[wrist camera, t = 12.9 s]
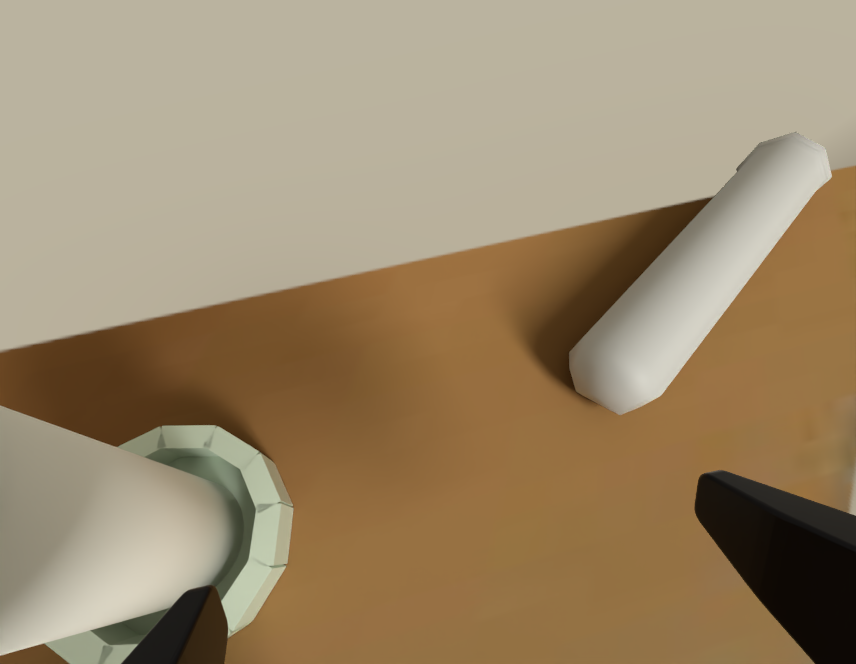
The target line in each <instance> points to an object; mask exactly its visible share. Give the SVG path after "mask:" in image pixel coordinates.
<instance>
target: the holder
mask: <svg viewBox="0 0 856 664" xmlns="http://www.w3.org/2000/svg"><path fill="white" fill-rule="evenodd" d="M117 448H120V449H123V450H125V451H128V452H131V453H134V454H137V455H139V456H142V457H145V458H148V459H151V460H153V461H156V462H159V463H162V464H164V465H167V466H170V467H173V468H176V469H178V470H181V471H184V472H187V473H190V474H192V475H195V476H198V477H201V478H204V479H206V480H209V481H212V482H215V483H217V484H220V485H221V486H223V487H225V488H226V489H227V490H229V491H230V492H231V493H232V494H233V496H234V497H235V498H236V500H237V501H238V503H239V505H240V508H241V511H242V514H243V520H244V534H243V541H242V545H241V548H240V551H239V554H238V556H237V558H236V561H235V563H234V564H233V566H232V568H231V569H230V571H229V572H228V573H227V575H226V576H225V577H224V578H223V580H222V581H221V582H220V583H219V584H218V585H217V586H215V587H216V588H217V590H218V593H219V596H220V599H221V602H222V605H223V608H224V612H225V615H226V618H227V622H228V638H229V637H230V636H232V635H233V634H235V633H236V632H238V631H239V630H241V629H242V628H244V627H245V626H247V625H248V624H250V622H252V621H253V620H254V618H255V616H256V615H257V613H258V612H259V610H260V608H261V607H262V605H263V603H264V602H265V600H266V599H267V597H268V595H269V594H270V592H271V591H272V589H273V587H274V586H275V584H276V582H277V581H278V579H279V578H280V576H281V574H282V573H283V571H284V569H285V568H286V566H285V565H284V564H287V563H288V554H289V545H290V536H291V527H292V518H293V510H294V508H292V506H293V504H292V502H291V500H290V497H289V495H288V493H287V490H286V488H285V486H284V484H283V481H282V479H281V477H280V475H279V472H278V470H277V468H276V465H275V463H274V462H273V461H272V460H270V459H269V458H267V457H266V456H265V455H263V454H262V453H261V452H259V451H258V450H256V449H254V448H253V447H251V446H250V445H248V444H246V443H245V442H243V441H241V440H240V439H238V438H237V437H235V436H233V435H232V434H230V433H228V432H227V431H225V430H224V429H222V428H220V427H219V426H216V425H192V426H162V427H160V426H159V427H157V428H155V429H153V430H151V431H149V432H147V433H145V434H143V435H141V436H139V437H137V438H134V439H132V440H130V441H128V442H126V443H124V444H122V445H120V446H118V447H117ZM169 609H170V608H168V609H165V610H161V611H158V612H154V613H150V614H147V615H143V616H140V617H136V618H133V619H129V620H125V621H122V622H118V623H115V624H111V625H108V626H104V627H100V628H97V629H93V630H90V631H86V632H83V633H79V634H75V635H72V636H68V637H65V638H61V639H58V640H54V641H50V642H47V643H44V644H45V645H47V646H48V647H49V648H51V649H52V650H53V651H54V652H56V653H57V654H58V655H59V656H61V657H62V658H63V659H65V660H66V661H67V662H68V663H70V664H121V663H122V662H123V661H124V660H125V658H126V657H127V656H128V655H129V654H130V653H131V652H132V651H133V649H134V648H135V647H136V646H137V645H138V644H139V643H140V641H141V640H142V639H143V638H144V637H145V636H146V635H147V634H148V632H149V631H150V630H151V629H152V628H153V627H154V626H155V625H156V623H157V622H158V621H159V620H160V619H161V618H162V617H163V616H164V614H165V613H166V612H167V611H168V610H169Z"/></svg>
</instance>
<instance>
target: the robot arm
mask: <svg viewBox="0 0 856 664" xmlns="http://www.w3.org/2000/svg"><path fill="white" fill-rule="evenodd" d="M695 513H696V516H697V518H698V520H699V521H700V523H701V524H702V525H703V527H704V528H705V529H706V531H707V532H708V533H709V535H710V536H711V537H712V539H713V540H714V541H715V543H716V544H717V545H718V547H719V548H720V549H721V551H722V552H723V553H724V555H725V556H726V557H727V559H728V560H729V561H730V563H731V564H732V565H733V567H734V568H735V569H736V570H737V572H738V573H739V574H740V576H741V577H742V578H743V580H744V581H745V582H746V584H747V585H748V586H749V588H750V589H751V590H752V591H753V593H754V594H755V595H756V596H757V598H758V599H759V600H760V601H761V602H762V604H763V605H764V606H765V607H766V608H767V610H768V611H769V612H770V613H771V614H772V615H773V616H774V618H775V619H776V620H777V621H778V622H779V623H780V624H781V626H782V627H783V628H784V629H785V630H786V631H787V632H788V634H789V635H790V636H791V637H792V638H793V639H794V640H795V641H796V643H797V644H798V645H799V646H800V647H801V648H802V649H803V651H804V652H805V653H806V654H807V655H808V656H809V657H810V659H811V660H812V661H813V662H814V663H815V664H856V516H855V515H852V514H849V513H846V512H843V511H840V510H837V509H835V508H832V507H829V506H826V505H823V504H820V503H817V502H814V501H811V500H808V499H805V498H803V497H800V496H797V495H794V494H791V493H788V492H785V491H782V490H779V489H776V488H773V487H771V486H768V485H765V484H762V483H759V482H756V481H753V480H750V479H747V478H744V477H741V476H739V475H736V474H733V473H730V472H727V471H723V470H717V471H713V472H708V473H704V474H702V475H701V476H700V477H699V480H698V485H697V492H696V499H695ZM227 639H228V622H227V618H226V615H225V612H224V608H223V605H222V602H221V599H220V596H219V593H218V590H217V588H216V587H215V586H214V585H206V586H202V587H197V588H193V589H189V590H187V591H186V592H184V593H183V594H182V595H181V596H180V597H179V599H178V600H177V601H176V602H175V603H174V604H173V605H172V607H171V608H170V609H169V610H168V611H167V612H166V613H165V614H164V616H163V617H162V618H161V619H160V620H159V621H158V622H157V623H156V625H155V626H154V627H153V628H152V629H151V630H150V631H149V632H148V634H147V635H146V636H145V637H144V638H143V639H142V640H141V641H140V643H139V644H138V645H137V646H136V647H135V648H134V649H133V651H132V652H131V653H130V654H129V655H128V656H127V657H126V658H125V660H124V661H123V662H122V663H121V664H224V661H225V654H226V646H227Z"/></svg>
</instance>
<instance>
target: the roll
mask: <svg viewBox="0 0 856 664" xmlns="http://www.w3.org/2000/svg"><path fill="white" fill-rule="evenodd" d="M243 534H244V520H243V514H242V511H241V508H240V505H239V503H238V501H237V500H236V498H235V497H234V496H233V494H232V493H231V492H230V491H229V490H227V489H226V488H225V487H223V486H221V485H220V484H217V483H215V482H212V481H209V480H206V479H204V478H201V477H198V476H195V475H192V474H190V473H187V472H184V471H181V470H178V469H176V468H173V467H170V466H167V465H164V464H162V463H159V462H156V461H153V460H151V459H148V458H145V457H142V456H139V455H137V454H134V453H131V452H128V451H125V450H123V449H120V448H117V447H114V446H112V445H109V444H106V443H103V442H100V441H98V440H95V439H92V438H89V437H86V436H84V435H81V434H78V433H75V432H73V431H70V430H67V429H64V428H61V427H59V426H56V425H53V424H50V423H47V422H45V421H42V420H39V419H36V418H33V417H31V416H28V415H25V414H22V413H20V412H17V411H14V410H11V409H8V408H6V407H3V406H0V655H4V654H8V653H11V652H15V651H18V650H22V649H25V648H29V647H33V646H36V645H40V644H43V643H47V642H50V641H54V640H58V639H61V638H65V637H68V636H72V635H75V634H79V633H83V632H86V631H90V630H93V629H97V628H100V627H104V626H108V625H111V624H115V623H118V622H122V621H125V620H129V619H133V618H136V617H140V616H143V615H147V614H150V613H154V612H158V611H161V610H165V609H168V608H171V607H172V605H173V604H174V603H175V602H176V601H177V600H178V599H179V597H180V596H181V595H182V594H183V593H184V592H186V591H187V590H189V589H193V588H197V587H202V586H206V585H214V586H217V585H218V584H219V583H220V582H221V581H222V580H223V578H224V577H225V576H226V575H227V573H228V572H229V571H230V569H231V568H232V566H233V564H234V563H235V561H236V558H237V556H238V554H239V551H240V548H241V545H242V541H243Z"/></svg>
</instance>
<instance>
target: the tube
mask: <svg viewBox="0 0 856 664" xmlns="http://www.w3.org/2000/svg"><path fill="white" fill-rule="evenodd" d="M736 170H737V173H736V174H735V175H734V176H733V177H732V178H731V179H730V180H729V181H728V182H727V183H726V184H725V186H724V187H723V188H722V189H721V190H720V191H719V192H718V193H717V194H716V195H715V196H714V197H713V198H712V199H711V201H710V202H709V203H708V204H707V205H706V206H705V207H704V208H703V209H702V210H701V211H700V212H699V213H698V214H697V216H696V217H695V218H694V219H693V220H692V221H691V222H690V223H689V224H688V225H687V226H686V227H685V228H684V229H683V231H682V232H681V233H680V234H679V235H678V236H677V237H676V238H675V239H674V240H673V241H672V242H671V243H670V244H669V246H668V247H667V248H666V249H665V250H664V251H663V252H662V253H661V254H660V255H659V256H658V257H657V258H656V259H655V261H654V262H653V263H652V264H651V265H650V266H649V267H648V268H647V269H646V270H645V271H644V272H643V273H642V274H641V276H640V277H639V278H638V279H637V280H636V281H635V282H634V283H633V284H632V285H631V286H630V287H629V288H628V289H627V291H626V292H625V293H624V294H623V295H622V296H621V297H620V298H619V299H618V300H617V301H616V302H615V303H614V304H613V306H612V307H611V308H610V309H609V310H608V311H607V312H606V313H605V314H604V315H603V316H602V317H601V318H600V319H599V321H598V322H597V323H596V324H595V325H594V326H593V327H592V328H591V329H590V330H589V331H588V332H587V333H586V334H585V336H584V337H583V338H582V339H581V340H580V341H579V342H578V343H577V344H576V345H575V346H574V347H573V349H572V350H571V351H570V352H569V369H570V372H571V376H572V379H573V383H574V386H575V390H576V392H578V393H579V394H581V395H583V396H585V397H586V398H588V399H590V400H592V401H593V402H595V403H597V404H599V405H601V406H603V407H605V408H607V409H609V410H611V411H613V412H615V413H617V414H619V415H621V414H624V413H626V412H629V411H631V410H634V409H637V408H639V407H641V406H643V405H645V404H647V403H648V402H650V401H652V400H654V399H656V398H658V397H659V396H661V395H662V393H663V392H664V391H665V389H666V388H667V387H668V386H669V384H670V383H671V382H672V380H673V379H674V378H675V376H676V375H677V374H678V372H679V371H680V370H681V368H682V367H683V366H684V364H685V363H686V362H687V360H688V359H689V358H690V356H691V355H692V354H693V353H694V351H695V350H696V349H697V347H698V346H699V345H700V343H701V342H702V341H703V339H704V338H705V337H706V335H707V334H708V333H709V331H710V330H711V329H712V327H713V326H714V325H715V323H716V322H717V321H718V320H719V318H720V317H721V316H722V314H723V313H724V312H725V310H726V309H727V308H728V306H729V305H730V304H731V302H732V301H733V300H734V298H735V297H736V296H737V294H738V293H739V292H740V290H741V289H742V288H743V287H744V285H745V284H746V283H747V281H748V280H749V279H750V277H751V276H752V275H753V273H754V272H755V271H756V269H757V268H758V267H759V265H760V264H761V263H762V261H763V260H764V259H765V257H766V256H767V255H768V253H769V252H770V251H771V250H772V248H773V247H774V246H775V244H776V243H777V242H778V240H779V239H780V238H781V236H782V235H783V234H784V232H785V231H786V230H787V228H788V227H789V226H790V224H791V223H792V222H793V220H794V219H795V218H796V217H797V215H798V214H799V213H800V211H801V210H802V209H803V207H804V206H805V205H806V203H807V202H808V201H809V199H810V198H811V197H812V195H813V194H814V193H815V191H816V190H818V189H819V188H820V187H821V186H822V185H824V184H825V183H826V182H827V181H828V180H829V179H830V178H831V177H832V175H831V170H830V166H829V162H828V158H827V154H826V149H825V148H824V147H822V146H821V145H819V144H817V143H815V142H813V141H811V140H810V139H808V138H806V137H804V136H803V135H800V134H799V133H797V132H794V133H790V134H787V135H784V136H781V137H777V138H774V139H771V140H768V141H765V142H761V143H759V144H758V145H757V147H756V148H755V149H754V150H753V151H752V152H751V153H750V154H749V156H747V158H746V159H745V160H744V161H743V162H742V163H741V164H740V165H739V166H738V167H737V169H736Z"/></svg>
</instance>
